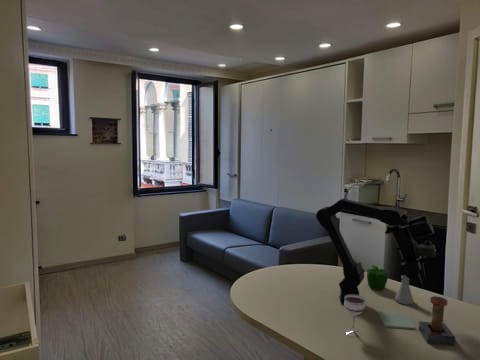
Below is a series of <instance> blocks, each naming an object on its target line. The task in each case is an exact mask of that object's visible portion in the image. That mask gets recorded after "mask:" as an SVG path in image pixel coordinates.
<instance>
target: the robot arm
mask: <svg viewBox="0 0 480 360" xmlns="http://www.w3.org/2000/svg"><path fill="white" fill-rule="evenodd" d="M341 211H348V212H351V213H355V214H358V215H362V216H367V217H371V218H374V219H376V220H378V221H379V222H381V223H383V224H385V225H387V227H386V230H385V232H384V234H386V235H388V234H392V237H393V239H394V243H395V244H396V250H397V251H399V253H400V255H401V261H402V262H401V263H400V266H399V271H400V273H401V274H402V275H403V276H407V277H408V278H409V279H410V280H409V281H411V283H413V284H414V285H415V286H417V288H418V289H423V288H424V286H423V282H422V280H426V273H425V267H424V262H425V260H426V257H427V258H431V259H432V258H435V257H436V245H435V244H432V242H431V240H425V241H424V243H421V244H418V243H417V241H415V240H414V239H413V237H414V238H416V239H420V238H422V237H423V238H424V237H426V236H431V235H434V234H435V230H434V227H433V223H432V222H431V221H430V219H429V218H428V217H427V215H425V214H423V215H421V216H419V217H416V218H411V217H410V216H407V214H404V213H403V211H402V210H401V209H400V208H399V207H397V206H396V207H395V206H377V205H373V204H367V203H364V202H359V201H354V200H351V199H347V198H345V197H344V198H341V199H339V200H338V201H336V202H335V203H334V204H331V205H330V206H324V207H322V208H320V209H319V210H317V212H316V214H315V219H316V221H317V222H318V223H319V225H320V226H321V227H322V228H323V229H324V230H325V231H326V233H327V234H328V236H329V238H330V241H331V243H332V246H333V247H334V250H335V251H336V254H337V256H338V258H339V261H340V262H341V264H342V273H343V279H342V280H341V281H340V282H339V283H338V286H339V289H340V290H339V296H338V298H339V302H340V304H341V305H344V301H345V298H344V297H345V296H346V295H349V294H353V295H359V296H360V290H359V287H358V286H360V284H361V283H362V282H363V280H364V278H365V272H366V271H365V269H364V268H363V266H362V263H361V261H359V262H356V261H355V260H354V258H353V257H352V254H351V252H350V250H349V248H348V246H347V243H346V242H345V240H344V237H343V234H342V233H341V231H340V228H339V227H338V217H337V214H338V213H339V212H341Z"/></svg>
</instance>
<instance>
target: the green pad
mask: <svg viewBox="0 0 480 360" xmlns="http://www.w3.org/2000/svg"><path fill="white" fill-rule="evenodd" d="M377 314H378V316H379V318H380V320H381V322H382V324H383V327H385V328H394V329H405V330H416V326H415V325H414V322H413V321H412V319H411V318H410V316H409V315H408V314H407V312H395V311H383V310H382V311H381V310H378V311H377Z"/></svg>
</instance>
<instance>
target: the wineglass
mask: <svg viewBox="0 0 480 360" xmlns="http://www.w3.org/2000/svg"><path fill="white" fill-rule="evenodd" d="M344 298H345V301H344V304H343V307H344V309H345V310H346V312H347V313H348V314H350V315H352V328H348V329H346V330H345V331H344V332H345V334H346V335H347V336H349V337H351V338H358V337H360V336H361V335H362V333H361V332H360V331H359V330H357V329H355V320H356V319H355V318H356V316H358V315H361V314H362V313H364V311H365V310H366V303H365V302H366V299H365V297H363V296H361V295H360V294H359V295H353V294H349V295H346V296H345V297H344Z"/></svg>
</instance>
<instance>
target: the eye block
mask: <svg viewBox="0 0 480 360" xmlns="http://www.w3.org/2000/svg"><path fill="white" fill-rule="evenodd" d="M418 331H419V333H420V334H421V336H422V337H423V339H424V341H425V342H426V343H427V344H430V345H431V344H433V345H442V346H443V345H444V346H455V343H456V336H455V334H454V333H453V332H452V330H450V328H449V327H448V325H446V323H444V322H443V326H442V333H441V332H432V331H431V321H421V320H420V321H419V322H418Z"/></svg>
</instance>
